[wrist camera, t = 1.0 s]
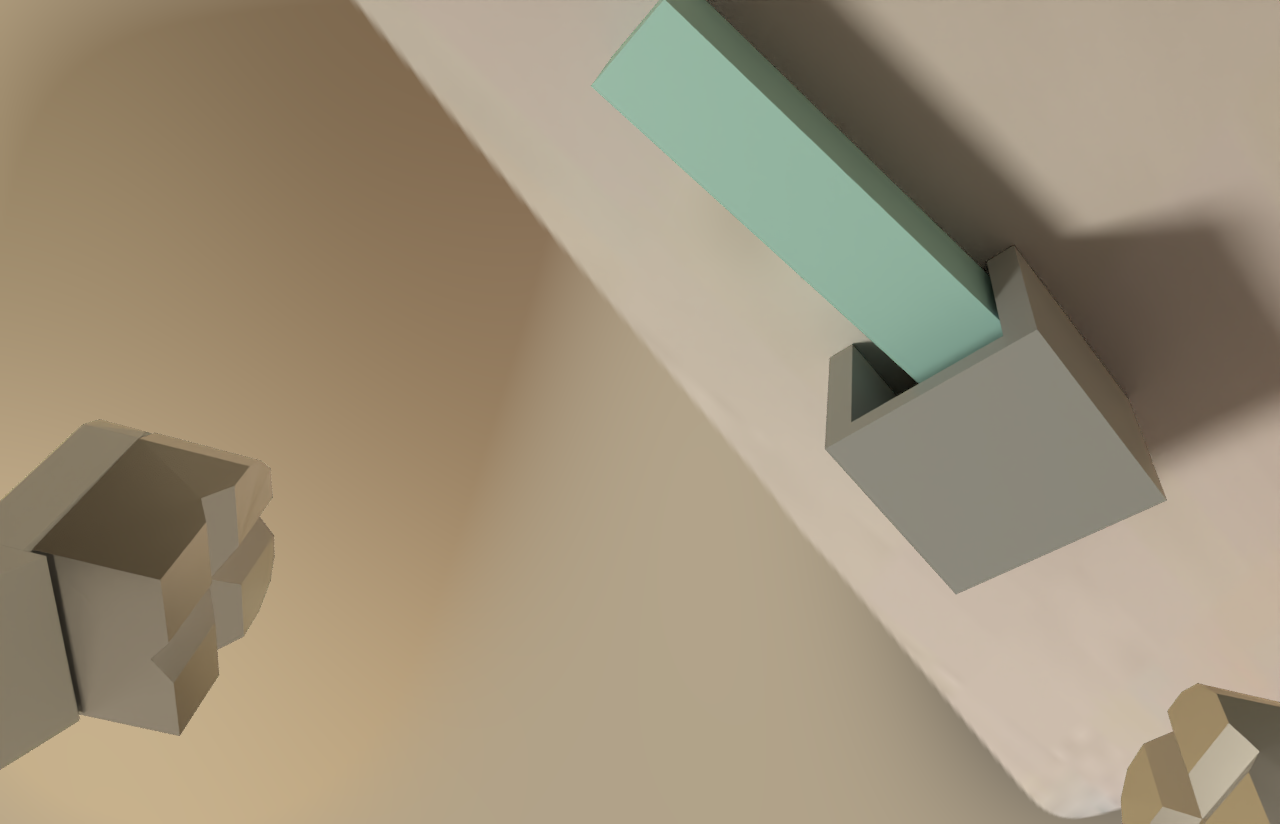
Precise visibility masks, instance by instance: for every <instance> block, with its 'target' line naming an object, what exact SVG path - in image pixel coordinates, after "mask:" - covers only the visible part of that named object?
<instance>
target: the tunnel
mask: <svg viewBox="0 0 1280 824" xmlns="http://www.w3.org/2000/svg"><path fill="white" fill-rule="evenodd" d="M987 265H988V269H989V274H990V278H991V283H992V288H993V292H994V297H995V301H996V306H997V310H998V315H999V319H1000V324H1001V329H1002V333H1003V336H1002V337H1000V338H998V339H997V340H995V341H993V342H991V343H990V344H988V345H986V346H984V347H983V348H981V349H979V350H977V351H975V352H974V353H972V354H970V355H968V356H967V357H965V358H963V359H961V360H960V361H958V362H956V363H954V364H953V365H951V366H949V367H947V368H946V369H944V370H942V371H940V372H939V373H937V374H935V375H933V376H932V377H930V378H928V379H926V380H925V381H923V382H921V383H919V384H918V385H916V386H914V387H912V388H911V389H909V390H907V391H905V392H904V393H902V394H900V395H898V396H896V395H895V394H894V393H893V391H892V390H891V389H890V388H889V387H888V385H887V384H886V383H885V382H884V381H883V380H882V378H881V377H880V376H879V375H878V374H877V372H876V371H875V370H874V369H873V368H872V367H871V365H870V364H869V363H868V362H867V361H866V359H865V358H864V357H863V356H862V355H861V354H860V352H859V351H858V350H857V349H856V348H855V347H854V345H853V344H852V345H850V346H849V347H847V348H845V349H844V350H842V351H840V352H839V353H837V354H836V355H834V356H832V357H831V358H830V362H829V381H828V401H827V420H826V439H825V450H826V451H827V452H828V453H829V454H830V455H831V456H832V457H833V458H834V460H835V461H836V462H837V463H838V464H839V465H840V466H841V467H842V468H843V470H844V471H845V472H846V473H847V474H848V475H849V476H850V477H851V478H852V480H853V481H854V482H855V483H856V484H857V485H858V486H859V487H860V488H861V490H862V491H863V492H864V493H865V494H866V495H867V496H868V497H869V498H870V499H871V501H872V502H873V503H874V504H875V505H876V506H877V507H878V508H879V509H880V511H881V512H882V513H883V514H884V515H885V516H886V517H887V518H888V519H889V521H890V522H891V523H892V524H893V525H894V526H895V527H896V528H897V529H898V531H899V532H900V533H901V534H902V535H903V536H904V537H905V538H906V539H907V541H908V542H909V543H910V544H911V545H912V546H913V547H914V548H915V549H916V551H917V552H918V553H919V554H920V555H921V556H922V557H923V558H924V559H925V561H926V562H927V563H928V564H929V565H930V566H931V567H932V568H933V569H934V571H935V572H936V573H937V574H938V575H939V576H940V577H941V578H942V579H943V581H944V582H945V583H946V584H947V585H948V586H949V587H950V588H951V589H952V591H953V592H954V593H955V594H958V593H960V592H963V591H965V590H967V589H969V588H971V587H974V586H976V585H978V584H980V583H983V582H985V581H987V580H989V579H992V578H994V577H996V576H998V575H1001V574H1003V573H1005V572H1007V571H1010V570H1012V569H1014V568H1016V567H1019V566H1021V565H1023V564H1025V563H1028V562H1030V561H1032V560H1034V559H1036V558H1039V557H1041V556H1043V555H1045V554H1048V553H1050V552H1052V551H1054V550H1057V549H1059V548H1061V547H1063V546H1066V545H1068V544H1070V543H1072V542H1075V541H1077V540H1079V539H1081V538H1084V537H1086V536H1088V535H1090V534H1093V533H1095V532H1097V531H1099V530H1101V529H1104V528H1106V527H1108V526H1110V525H1113V524H1115V523H1117V522H1119V521H1122V520H1124V519H1126V518H1128V517H1131V516H1133V515H1135V514H1137V513H1140V512H1142V511H1144V510H1146V509H1149V508H1151V507H1153V506H1155V505H1158V504H1160V503H1162V502H1164V501H1166V500H1167V499H1166V497H1165V494H1164V491H1163V489H1162V486H1161V483H1160V481H1159V478H1158V475H1157V473H1156V470H1155V468H1154V465H1153V462H1152V460H1151V457H1150V454H1149V452H1148V449H1147V446H1146V444H1145V441H1144V439H1143V436H1142V433H1141V431H1140V428H1139V425H1138V423H1137V420H1136V418H1135V415H1134V412H1133V410H1132V407H1131V404H1130V402H1129V400H1128V398H1127V397H1126V396H1125V394H1124V393H1123V391H1122V390H1121V389H1120V387H1119V386H1118V385H1117V383H1116V382H1115V381H1114V379H1113V378H1112V377H1111V375H1110V374H1109V373H1108V371H1107V370H1106V369H1105V367H1104V366H1103V365H1102V363H1101V362H1100V360H1099V359H1098V358H1097V356H1096V355H1095V354H1094V352H1093V351H1092V350H1091V348H1090V347H1089V346H1088V344H1087V343H1086V342H1085V340H1084V339H1083V338H1082V336H1081V335H1080V333H1079V332H1078V331H1077V329H1076V328H1075V327H1074V325H1073V324H1072V323H1071V321H1070V320H1069V319H1068V317H1067V316H1066V315H1065V313H1064V312H1063V311H1062V309H1061V308H1060V307H1059V305H1058V304H1057V302H1056V301H1055V300H1054V298H1053V297H1052V296H1051V294H1050V293H1049V292H1048V290H1047V289H1046V288H1045V286H1044V285H1043V284H1042V282H1041V281H1040V280H1039V278H1038V277H1037V276H1036V274H1035V273H1034V271H1033V270H1032V269H1031V267H1030V266H1029V265H1028V263H1027V262H1026V261H1025V259H1024V258H1023V257H1022V255H1021V254H1020V253H1019V251H1018V250H1017V249H1016V247H1015V246H1014V245H1013V246H1011V247H1010V248H1008V249H1007V250H1005V251H1003V252H1002V253H1000V254H998V255H997V256H995V257H994V258H992V259H990V260H989V261H987Z"/></svg>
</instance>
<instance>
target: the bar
mask: <svg viewBox="0 0 1280 824" xmlns="http://www.w3.org/2000/svg"><path fill="white" fill-rule="evenodd" d="M591 87H593V88H594V89H595V90H596V91H597V92H598V93H599V94H600V95H601V96H602V97H604V98H605V99H606V100H607V101H608V102H609V103H610V104H611V105H612V106H614V107H615V108H616V109H617V110H618V111H619V112H620V113H621V114H622V115H623V116H625V117H626V118H627V119H628V120H629V121H630V122H631V123H632V124H633V125H634V126H636V127H637V128H638V129H639V130H640V131H641V132H642V133H643V134H644V135H645V136H647V137H648V138H649V139H650V140H651V141H652V142H653V143H654V144H655V145H656V146H658V147H659V148H660V149H661V150H662V151H663V152H664V153H665V154H666V155H667V156H669V157H670V158H671V159H672V160H673V161H674V162H675V163H676V164H677V165H678V166H680V167H681V168H682V169H683V170H684V171H685V172H686V173H687V174H688V175H689V176H691V177H692V178H693V179H694V180H695V181H696V182H697V183H698V184H699V185H701V186H702V187H703V188H704V189H705V190H706V191H707V192H708V193H709V194H710V195H712V196H713V197H714V198H715V199H716V200H717V201H718V202H719V203H720V204H721V205H723V206H724V207H725V208H726V209H727V210H728V211H729V212H730V213H731V214H732V215H734V216H735V217H736V218H737V219H738V220H739V221H740V222H741V223H742V224H743V225H745V226H746V227H747V228H748V229H749V230H750V231H751V232H752V233H753V234H754V235H756V236H757V237H758V238H759V239H760V240H761V241H762V242H763V243H764V244H765V245H767V246H768V247H769V248H770V249H771V250H772V251H773V252H774V253H775V254H776V255H778V256H779V257H780V258H781V259H782V260H783V261H784V262H785V263H786V264H788V265H789V266H790V267H791V268H792V269H793V270H794V271H795V272H796V273H797V274H799V275H800V276H801V277H802V278H803V279H804V280H805V281H806V282H807V283H808V284H810V285H811V286H812V287H813V288H814V289H815V290H816V291H817V292H818V293H819V294H821V295H822V296H823V297H824V298H825V299H826V300H827V301H828V302H829V303H830V304H832V305H833V306H834V307H835V308H836V309H837V310H838V311H839V312H840V313H841V314H843V315H844V316H845V317H846V318H847V319H848V320H849V321H850V322H851V323H852V324H854V325H855V326H856V327H857V328H858V329H859V330H860V331H861V332H862V333H863V334H865V335H866V336H867V337H868V338H869V339H870V340H871V341H872V342H873V343H875V344H876V345H877V346H878V347H879V348H880V349H881V350H882V351H883V352H884V353H886V354H887V355H888V356H889V357H890V358H891V359H892V360H893V361H894V362H895V363H897V364H898V365H899V366H900V367H901V368H902V369H903V370H904V371H905V372H906V373H908V374H909V375H910V376H911V377H912V378H913V379H914V380H915V381H916V382H917V383H921V382H923V381H925V380H926V379H928V378H930V377H932V376H933V375H935V374H937V373H939V372H940V371H942V370H944V369H946V368H947V367H949V366H951V365H953V364H954V363H956V362H958V361H960V360H961V359H963V358H965V357H967V356H968V355H970V354H972V353H974V352H975V351H977V350H979V349H981V348H983V347H984V346H986V345H988V344H990V343H991V342H993V341H995V340H997V339H998V338H1000V337H1002V336H1003V333H1002V329H1001V324H1000V319H999V315H998V310H997V306H996V301H995V297H994V292H993V288H992V283H991V278H990V276H989V275H988V274H987V273H986V272H985V271H984V270H983V269H982V268H981V267H980V266H979V265H978V264H977V263H976V262H974V261H973V260H972V259H971V258H970V257H969V256H968V255H967V254H966V253H965V252H964V251H963V250H962V249H961V248H960V247H959V246H958V245H957V244H956V243H955V242H954V241H953V240H952V239H951V238H950V237H949V236H948V235H947V234H946V233H945V232H944V231H943V230H942V229H941V228H939V227H938V226H937V225H936V224H935V223H934V222H933V221H932V220H931V219H930V218H929V217H928V216H927V215H926V214H925V213H924V212H923V211H922V210H921V209H920V208H919V207H918V206H917V205H916V204H915V203H914V202H913V201H912V200H911V199H910V198H909V197H908V196H907V195H906V194H904V193H903V192H902V191H901V190H900V189H899V188H898V187H897V186H896V185H895V184H894V183H893V182H892V181H891V180H890V179H889V178H888V177H887V176H886V175H885V174H884V173H883V172H882V171H881V170H880V169H879V168H878V167H877V166H876V165H875V164H874V163H873V162H872V161H871V160H870V159H868V158H867V157H866V156H865V155H864V154H863V153H862V152H861V151H860V150H859V149H858V148H857V147H856V146H855V145H854V144H853V143H852V142H851V141H850V140H849V139H848V138H847V137H846V136H845V135H844V134H843V133H842V132H841V131H840V130H839V129H838V128H837V127H836V126H835V125H833V124H832V123H831V122H830V121H829V120H828V119H827V118H826V117H825V116H824V115H823V114H822V113H821V112H820V111H819V110H818V109H817V108H816V107H815V106H814V105H813V104H812V103H811V102H810V101H809V100H808V99H807V98H806V97H805V96H804V95H803V94H802V93H801V92H800V91H798V90H797V89H796V88H795V87H794V86H793V85H792V84H791V83H790V82H789V81H788V80H787V79H786V78H785V77H784V76H783V75H782V74H781V73H780V72H779V71H778V70H777V69H776V68H775V67H774V66H773V65H772V64H771V63H770V62H769V61H768V60H767V59H766V58H765V57H763V56H762V55H761V54H760V53H759V52H758V51H757V50H756V49H755V48H754V47H753V46H752V45H751V44H750V43H749V42H748V41H747V40H746V39H745V38H744V37H743V36H742V35H741V34H740V33H739V32H738V31H737V30H736V29H735V28H734V27H733V26H732V25H731V24H730V23H729V22H727V21H726V20H725V19H724V18H723V17H722V16H721V15H720V14H719V13H718V12H717V11H716V10H715V9H714V8H713V7H712V6H711V5H710V4H709V3H708V2H707V1H706V0H659V1H658V3H657V4H656V5H655V6H654V7H653V9H652V10H651V11H650V12H649V13H648V15H647V16H646V17H645V18H644V19H643V21H642V22H641V23H640V24H639V25H638V26H637V28H636V29H635V30H634V31H633V32H632V34H631V35H630V36H629V37H628V38H627V40H626V41H625V42H624V43H623V44H622V46H621V47H620V48H619V49H618V50H617V52H616V53H615V54H614V55H613V56H612V57H611V59H610V60H609V62H608V63H607V64H606V66H605V67H604V69H603V70H602V71H601V73H600V74H599V76H598V77H597V78H596V80H595V81H594V83H593V84H592V85H591Z"/></svg>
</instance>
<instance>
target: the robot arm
mask: <svg viewBox="0 0 1280 824" xmlns="http://www.w3.org/2000/svg"><path fill="white" fill-rule="evenodd" d="M272 498H273V494H272V481H271V469H270V467H268V466H267V465H266V464H265V463H263V462H262V461H261V460H257V459H253V458H249V457H246V456H242V455H238V454H234V453H230V452H227V451H223V450H219V449H215V448H211V447H208V446H204V445H199V444H196V443H192V442H189V441H185V440H181V439H177V438H173V437H170V436H166V435H162V434H158V433H153V434H152V433H149V432H145V431H141V430H138V429H134V428H130V427H127V426H123V425H119V424H115V423H112V422H108V421H104V420H101V419H99V420H96V421H92V422H89V423H85V424H83V425H81V426H80V427H79V428H78V429H77V430H75V431H74V432H73V433H72V434H71V435H70V436H69V437H68V438H67V439H66V440H65V441H64V442H62V443H61V444H60V445H59V446H58V447H57V448H56V449H55V450H54V451H53V452H52V453H51V454H50V455H48V456H47V457H46V458H45V459H44V460H43V461H42V462H41V463H40V464H39V465H38V466H37V467H36V468H35V469H34V470H32V471H31V472H30V473H29V474H28V475H27V476H26V477H25V478H24V479H23V480H22V481H21V482H19V483H18V484H17V485H16V486H15V487H14V488H13V489H12V490H11V491H10V492H9V493H8V494H7V495H5V496H4V497H3V498H2V499H1V500H0V770H1V769H2V768H4V767H5V766H7V765H9V764H10V763H12V762H13V761H15V760H17V759H18V758H20V757H21V756H23V755H25V754H26V753H28V752H29V751H31V750H33V749H34V748H36V747H38V746H39V745H41V744H42V743H44V742H46V741H47V740H49V739H50V738H52V737H54V736H55V735H57V734H59V733H60V732H62V731H63V730H65V729H66V728H68V727H70V726H71V725H73V724H75V723H76V722H78V721H79V719H80V717H79V714H80V715H85V716H89V717H94V718H99V719H104V720H108V721H113V722H117V723H122V724H127V725H131V726H136V727H140V728H145V729H150V730H155V731H159V732H164V733H168V734H173V735H178V736H180V735H181V733H182V731H183V730H184V729H185V727H186V725H187V724H188V722H189V721H190V719H191V718H192V716H193V715H194V713H195V712H196V710H197V708H198V707H199V705H200V704H201V702H202V700H203V699H204V698H205V696H206V694H207V693H208V691H209V690H210V688H211V687H212V685H213V684H214V682H215V681H216V679H217V678H218V676H219V667H218V652H217V650H218V649H219V648H222V647H224V646H226V645H228V644H229V643H232V642H234V641H236V640H237V639H240V638H242V637H243V636H244V635H245V634H246V632H247V630H248V629H249V627H250V625H251V624H252V622H253V620H254V619H255V617H256V616H257V614H258V612H259V610H260V607H261V605H262V602H263V599H264V597H265V594H266V591H267V589H268V586H269V583H270V581H271V575H272V568H273V561H274V535H273V533H272V532H271V531H270V529H269V528H268V527H267V526H266V524H265V523H264V522H263V520H262V519H261V518H260V515H261V514H262V512H263V511H264V509H265V508H266V506H267V505H268V504H269V502H270V501H271V499H272ZM1167 712H1168V715H1169V719H1170V723H1171V726H1172V730H1173V732H1171V733H1168V734H1166V735H1163V736H1161V737H1159V738H1156V739H1154V740H1152V741H1149V742H1147V743H1144V744H1143V745H1142V747H1141V749H1140V750H1139V752H1138V753H1137V755H1136V756H1135V758H1134V759H1133V761H1132V762H1131V764H1130V766H1129V767H1128V769H1127V773H1126V777H1125V782H1124V787H1123V791H1122V796H1121V811H1122V824H1280V702H1277V701H1273V700H1268V699H1264V698H1260V697H1255V696H1251V695H1247V694H1242V693H1238V692H1234V691H1229V690H1225V689H1221V688H1216V687H1212V686H1208V685H1203V684H1199V683H1197V684H1195V685H1193V686H1192V687H1190V688H1188V689H1186V690H1184V691H1183V692H1181V694H1180V695H1179V696H1178V698H1177V699H1176V700H1175V702H1174V703H1173V704H1172V705H1171V707H1170V708H1169V709H1168V711H1167Z"/></svg>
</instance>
